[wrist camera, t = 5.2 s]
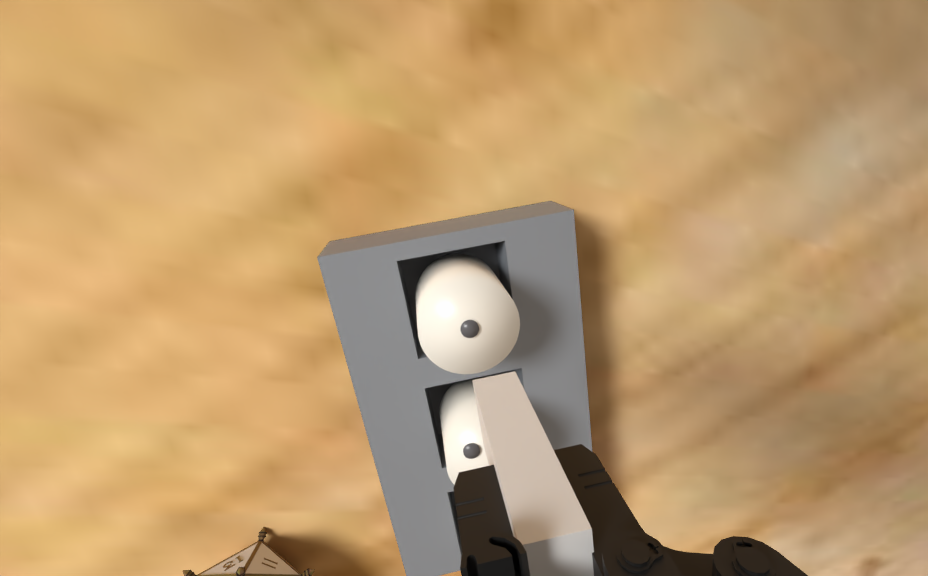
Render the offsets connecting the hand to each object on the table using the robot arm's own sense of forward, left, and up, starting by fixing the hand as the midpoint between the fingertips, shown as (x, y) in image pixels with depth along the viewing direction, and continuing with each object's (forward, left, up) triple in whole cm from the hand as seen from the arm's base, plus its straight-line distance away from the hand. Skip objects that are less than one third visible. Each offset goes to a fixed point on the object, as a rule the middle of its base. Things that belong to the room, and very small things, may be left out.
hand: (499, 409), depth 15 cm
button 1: (0, 0, -12) cm, 12 cm away
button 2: (+8, 0, -12) cm, 14 cm away
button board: (+8, 0, -14) cm, 16 cm away
